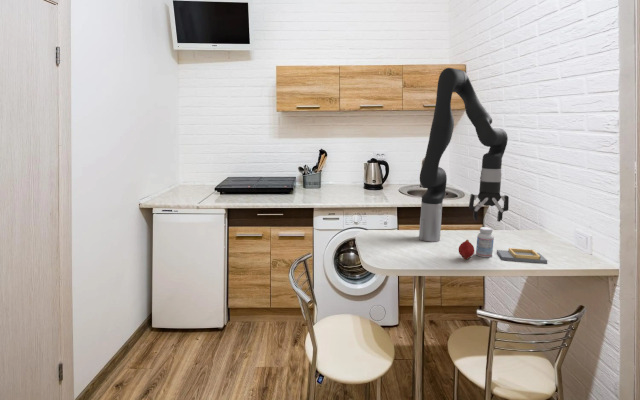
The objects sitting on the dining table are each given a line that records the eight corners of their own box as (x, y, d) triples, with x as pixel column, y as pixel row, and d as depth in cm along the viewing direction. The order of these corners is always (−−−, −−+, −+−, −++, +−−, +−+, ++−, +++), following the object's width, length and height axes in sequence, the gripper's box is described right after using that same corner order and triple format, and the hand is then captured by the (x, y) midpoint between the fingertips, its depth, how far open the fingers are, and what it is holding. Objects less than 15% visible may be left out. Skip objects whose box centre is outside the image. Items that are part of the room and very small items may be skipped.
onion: (455, 257, 159) (456, 237, 157) (469, 256, 159) (471, 237, 158) (461, 261, 153) (463, 241, 152) (476, 261, 154) (477, 241, 152)
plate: (502, 260, 156) (502, 254, 155) (496, 252, 166) (497, 247, 165) (547, 263, 153) (547, 257, 152) (538, 255, 162) (539, 249, 162)
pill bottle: (479, 252, 166) (482, 225, 164) (494, 255, 161) (497, 228, 159) (473, 255, 162) (475, 228, 160) (487, 258, 157) (490, 231, 155)
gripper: (472, 180, 154) (470, 221, 157) (512, 181, 151) (509, 223, 154) (469, 178, 161) (467, 218, 164) (507, 179, 159) (504, 219, 161)
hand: (487, 220), depth 159 cm, fingers open, 8 cm apart
